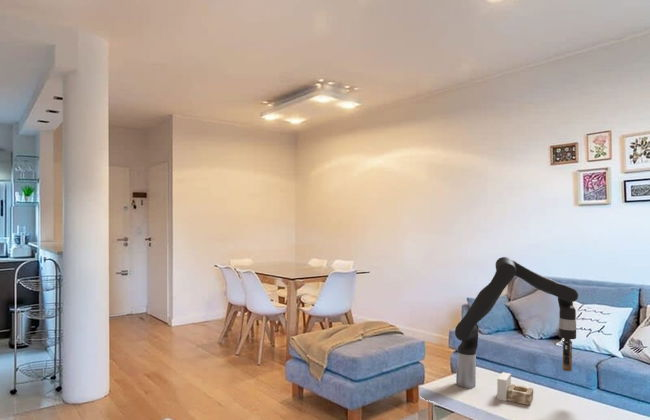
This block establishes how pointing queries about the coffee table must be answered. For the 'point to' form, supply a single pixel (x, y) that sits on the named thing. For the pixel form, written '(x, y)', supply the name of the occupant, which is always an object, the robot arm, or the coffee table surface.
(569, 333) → the robot arm
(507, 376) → the wall
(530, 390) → the socket block
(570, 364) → the dowel
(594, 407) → the coffee table surface
